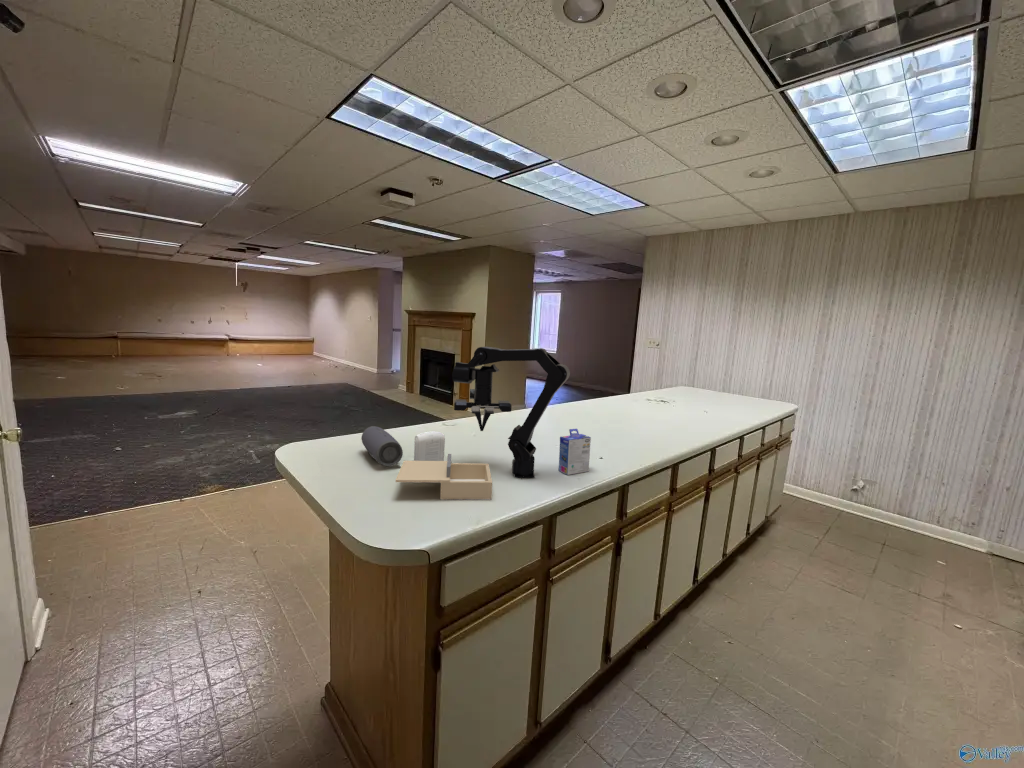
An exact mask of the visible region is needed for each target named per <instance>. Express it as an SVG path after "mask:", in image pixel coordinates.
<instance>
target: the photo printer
mask: <svg viewBox="0 0 1024 768" xmlns="http://www.w3.org/2000/svg"><path fill="white" fill-rule="evenodd" d="M445 444H446V438H445V434H444V433H443V432H440V431H433V430H431V431H424V432H420V433H418V434H416V435H415V436H414V444H413V445H414V448H413V449H414V450H413V453H414V455H413V461H445V448H446V447H445V446H446V445H445Z"/></svg>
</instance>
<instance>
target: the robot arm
mask: <svg viewBox="0 0 1024 768" xmlns="http://www.w3.org/2000/svg"><path fill="white" fill-rule="evenodd" d="M515 361H516V362H517V361H519V362H521V361H524V362H526V361H529V362H532V361H533V362H535V361H536V362H537V363H538V364H539V365H540V367H541V368H542V369H543V370H544V372H545V373H546V374H547V376H546V378H545V382H544V387H543V389H542V391H541V393H540V394H539V396H538V398H537V399H536V401H535V403H534V404H533V406H532V408H531V409H530V412H529V414H528V415H527V417H526V419H525V420H524V422H523V424H522V425H520V424H518V425H517V426H515V427H514V428H513V429H512V432H511V435H510V436H509V437H507V439H508V443H507V445H508V449H509V450H510V452H511V453H512V456H513V459H512V461H511V463H512V464H511V472H512V475H513V476H514V478H517V479H518V478H521V479H525V478H527V479H528V478H529V479H530V478H535V476H536V475H535V474H534V471H535V456H534V455H535V453H536V451H537V448H536V446H535V445H534V444H533V443H532V441H531V440H532V439H533V436H534V431H535V428H536V426H537V425H538V424H539V422H540V419H541V418H542V416H543V415H544V413H545V411H546V409H547V408H548V406H549V404H550V403H551V401H552V400H553V398H554V396H555V394H556V393H557V392H558V391H559V390H560V388H561V387H562V386H563V385H564V384H565V382H567V380H568V379H569V378H570V375H571V370H570V369H569V367H568V366H567V365H566V364H562V363H560V362H559V361H558V360H557V359H556V358H554V357H553V355H551V354H550V353H549V352H548V351H547V350H546V349H545V348H542V347H539V348H529V349H528V348H527V349H526V348H523V349H521V348H519V349H513V348H512V349H511V348H510V349H503V348H499V347H495V346H493V347H492V346H479V347H477V348H476V349H475V350H474V352H473V357H472V358H471V359H470V360H469V362H468V363H467V362H462V361H461V362H460V361H457V362H455V364H454V367H453V371H452V372H451V379H452V382H453V383H460V384H472V383H473V382H474V388H469V400H473V402H469V401H467V399H462V398H461V399H459V398H458V399H457V398H456V399H455V400H454V405H453V409H454V411H456V412H457V411H463V412H464V411H465V410H467V409H471V410H470V411H471V414H474V416H475V417H476V420H477V423H478V427H479V430H480V432H484V430H485V428H486V424H487V422H488V420H489V418H490V416H491V415H494V414H495V411H494V410H495V409H498V410H500V412H502V413H506V412H507V413H511V412H512V403H511V402H510V401H509V400H498V402H492V399H493V398H492V397H493V380H494V379H493V377H494V376H493V375H494V373H498V372H500V369H499V368H498V367H497V366H496V364H493V363H498V362H515ZM488 364H492V365H490V366H488ZM478 367H480V368H478ZM481 409H483V417H482V413H481Z"/></svg>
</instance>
